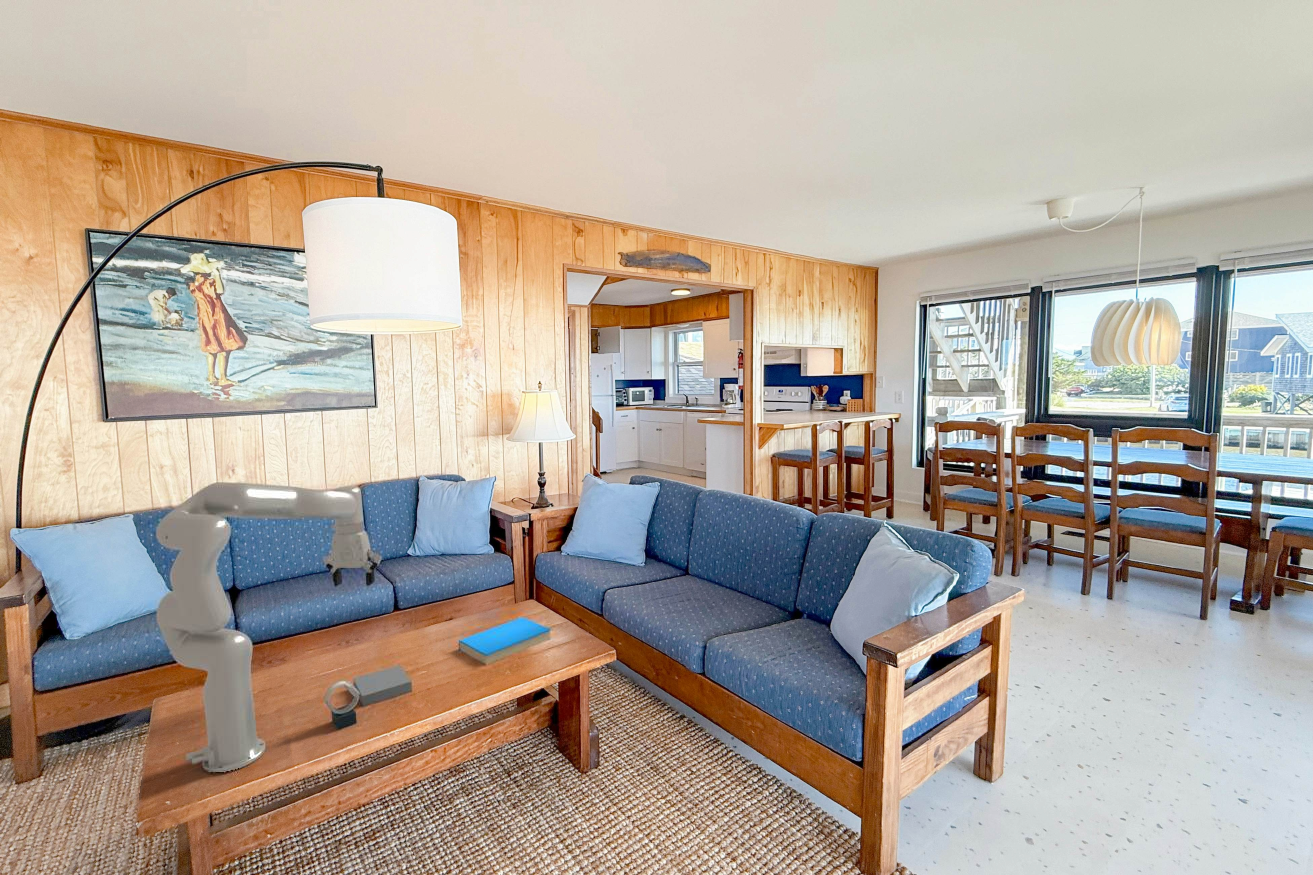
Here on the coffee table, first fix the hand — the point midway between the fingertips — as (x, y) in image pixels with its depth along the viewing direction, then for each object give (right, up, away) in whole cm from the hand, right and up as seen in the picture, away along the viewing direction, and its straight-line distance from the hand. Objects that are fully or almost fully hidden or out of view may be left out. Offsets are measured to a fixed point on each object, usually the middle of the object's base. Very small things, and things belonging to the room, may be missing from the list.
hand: (354, 584), depth 185 cm
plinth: (+11, -29, -5) cm, 32 cm away
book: (+40, -26, +23) cm, 53 cm away
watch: (+8, -31, -22) cm, 39 cm away
